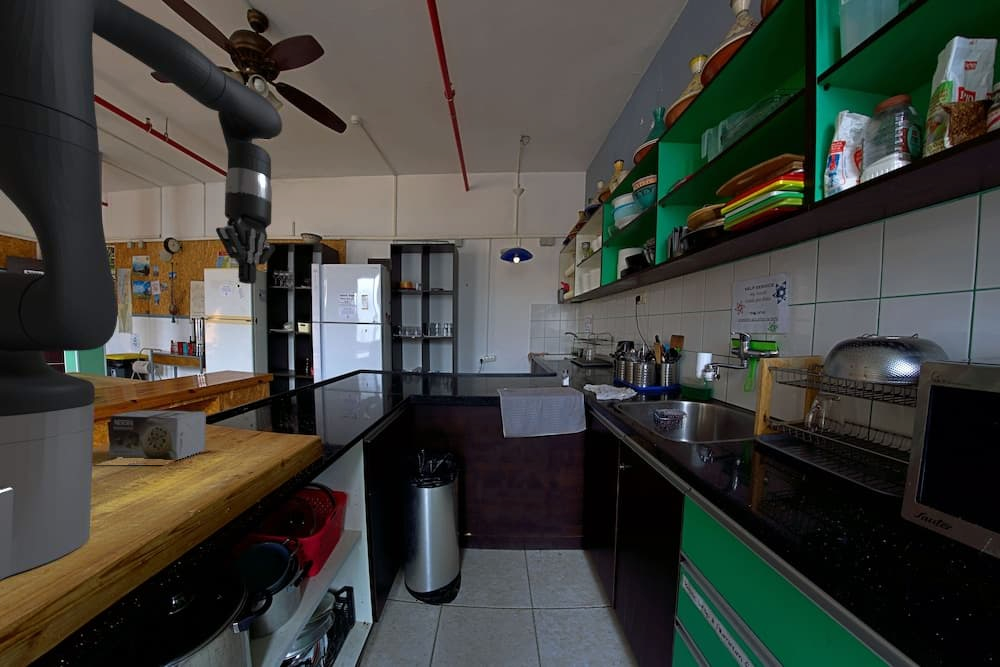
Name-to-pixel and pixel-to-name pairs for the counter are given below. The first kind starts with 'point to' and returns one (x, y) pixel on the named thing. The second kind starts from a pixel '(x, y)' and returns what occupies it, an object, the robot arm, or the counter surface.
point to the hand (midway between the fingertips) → (247, 283)
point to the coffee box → (157, 434)
